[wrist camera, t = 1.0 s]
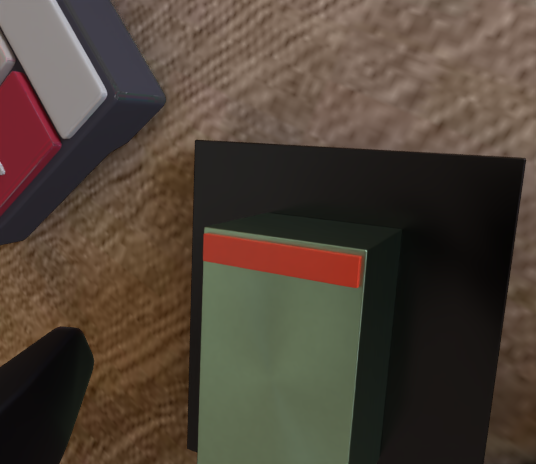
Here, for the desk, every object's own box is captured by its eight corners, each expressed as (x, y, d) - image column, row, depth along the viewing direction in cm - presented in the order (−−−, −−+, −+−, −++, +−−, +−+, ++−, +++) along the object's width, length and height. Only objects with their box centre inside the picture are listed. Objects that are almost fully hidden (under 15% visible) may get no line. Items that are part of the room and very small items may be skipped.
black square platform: (475, 524, 22) (470, 556, 21) (207, 430, 28) (186, 448, 27) (526, 157, 20) (526, 158, 18) (217, 140, 26) (194, 139, 24)
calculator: (-110, 101, 32) (-1, -96, 24) (-40, 105, 35) (73, -65, 28) (-34, 254, 30) (107, 95, 23) (30, 241, 34) (170, 101, 26)
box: (379, 458, 22) (339, 540, 17) (256, 418, 24) (192, 480, 20) (402, 228, 20) (365, 251, 15) (266, 212, 23) (199, 227, 18)
